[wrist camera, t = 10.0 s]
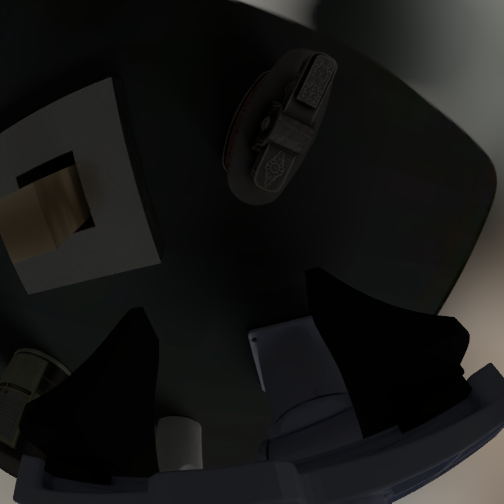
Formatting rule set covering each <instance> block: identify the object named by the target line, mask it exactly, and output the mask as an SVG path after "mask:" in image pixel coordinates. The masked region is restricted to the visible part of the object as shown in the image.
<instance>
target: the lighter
mask: <svg viewBox="0 0 504 504" xmlns="http://www.w3.org/2000/svg"><path fill="white" fill-rule="evenodd" d="M336 70H337V63H336V62H335V60H334V59H333V58H331V57H330V56H328V55H326V54H324V53H322V52H314V51H312V50H309V49H302V48H297V49H293V50H290V51H288V52H287V53H286V54H284V55H283V56H282V57H281V58H280V59H279V60H278V61H277V62H276V64H275V65H274V66H273V67H272V69H271V70H269V71H266V72H264V73H262V74H261V75H260V76H259V77H258V78H257V79H256V80H255V82H254V83H253V84H252V86H251V87H250V88H249V90H248V91H247V92H246V94H245V95H244V97H243V99H242V101H241V102H240V104H239V106H238V108H237V110H236V111H235V113H234V116H233V118H232V121H231V124H230V127H229V129H228V132H227V135H226V139H225V144H224V148H223V153H222V164H223V166H224V169H225V170H226V171H227V181H228V184H229V187H230V189H231V192H232V193H233V194H234V195H235V196H236V197H237V198H238V199H239V200H241V201H243V202H245V203H247V204H251V205H265V204H268V203H270V202H273V201H274V200H275V199H276V198H277V197H278V196H279V195H280V194H281V192H282V191H283V190H284V188H285V187H286V185H287V184H288V183H289V181H290V180H291V178H292V177H293V176H294V174H295V173H296V172H297V170H298V169H299V167H300V165H301V163H302V161H303V160H304V158H305V156H306V154H307V152H308V151H309V149H310V147H311V145H312V144H313V142H314V140H315V137H316V135H317V132H318V129H319V127H320V124H321V122H322V119H323V116H324V114H325V111H326V108H327V104H328V100H329V95H330V91H331V87H332V83H333V77H334V75H335V73H336Z"/></svg>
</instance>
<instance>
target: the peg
mask: <svg viewBox="0 0 504 504" xmlns="http://www.w3.org/2000/svg"><path fill="white" fill-rule="evenodd" d="M91 216H92V215H91V212H90V209H89V206H88V203H87V200H86V197H85V193H84V190H83V187H82V184H81V180H80V177H79V173H78V170H77V166H76V164H74V165H72V166H69V167H67V168H65V169H62V170H60V171H58V172H55V173H53V174H51V175H48V176H46V177H44V178H42V179H40V180H37V181H35V182H33V183H31V184H29V185H27V186H25V187H23V188H21V189H19V190H17V191H15V192H13V193H11V194H9V195H7V196H5V197H3V198H2V199H0V234H1V237H2V239H3V242H4V244H5V247H6V249H7V251H8V254H9V256H10V258H11V261H12V263H13V264H15V263H17V262H20V261H23V260H26V259H29V258H32V257H35V256H39V255H42V254H45V253H48V252H51V251H54V250H57V249H58V248H59V247H60V246H61V245H62V244H63V243H64V242H65V241H66V240H67V239H68V238H69V237H70V236H71V235H72V234H73V233H74V232H75V231H76V230H77V229H78V228H79V227H80V226H81V225H82V224H83V223H84V222H85V221H86V220H87V219H89V218H90V217H91Z"/></svg>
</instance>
